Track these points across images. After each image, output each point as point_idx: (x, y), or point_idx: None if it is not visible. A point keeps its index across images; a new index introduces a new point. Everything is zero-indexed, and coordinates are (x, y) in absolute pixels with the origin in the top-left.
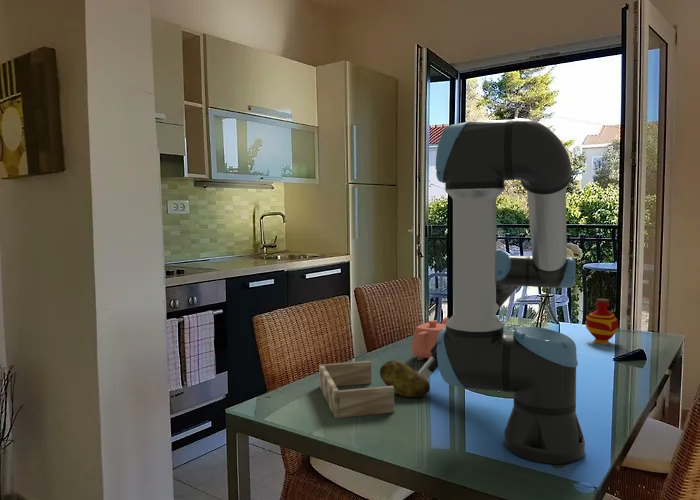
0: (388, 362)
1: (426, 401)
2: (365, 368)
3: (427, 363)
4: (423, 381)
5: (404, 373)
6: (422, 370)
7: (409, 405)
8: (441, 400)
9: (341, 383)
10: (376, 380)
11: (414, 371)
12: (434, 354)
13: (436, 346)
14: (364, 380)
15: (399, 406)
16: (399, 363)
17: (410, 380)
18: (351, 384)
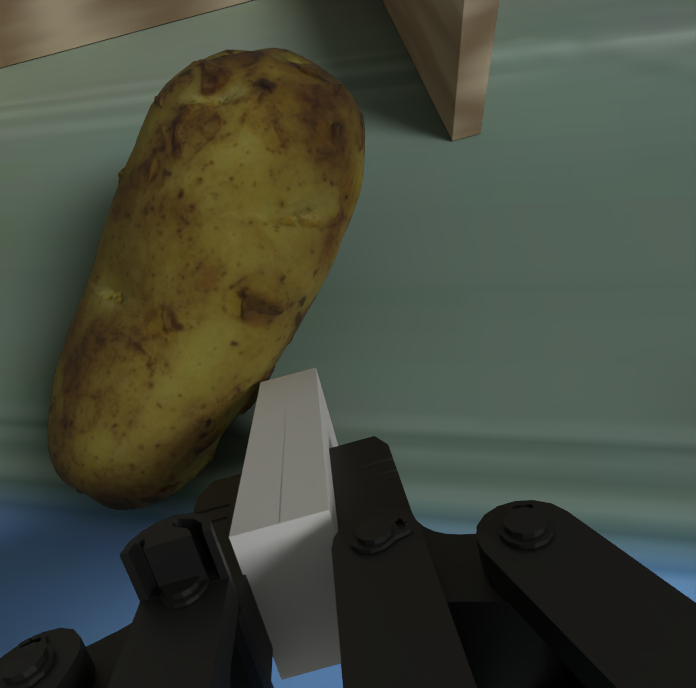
0: (228, 55)
1: (62, 486)
2: (444, 14)
3: (264, 458)
4: (60, 429)
5: (107, 233)
6: (255, 416)
7: (20, 365)
8: (53, 617)
9: (392, 7)
10: (520, 162)
11: (168, 322)
12: (334, 570)
13: (575, 653)
14: (436, 90)
15: (22, 307)
16: (188, 140)
17: (78, 310)
18: (410, 53)
